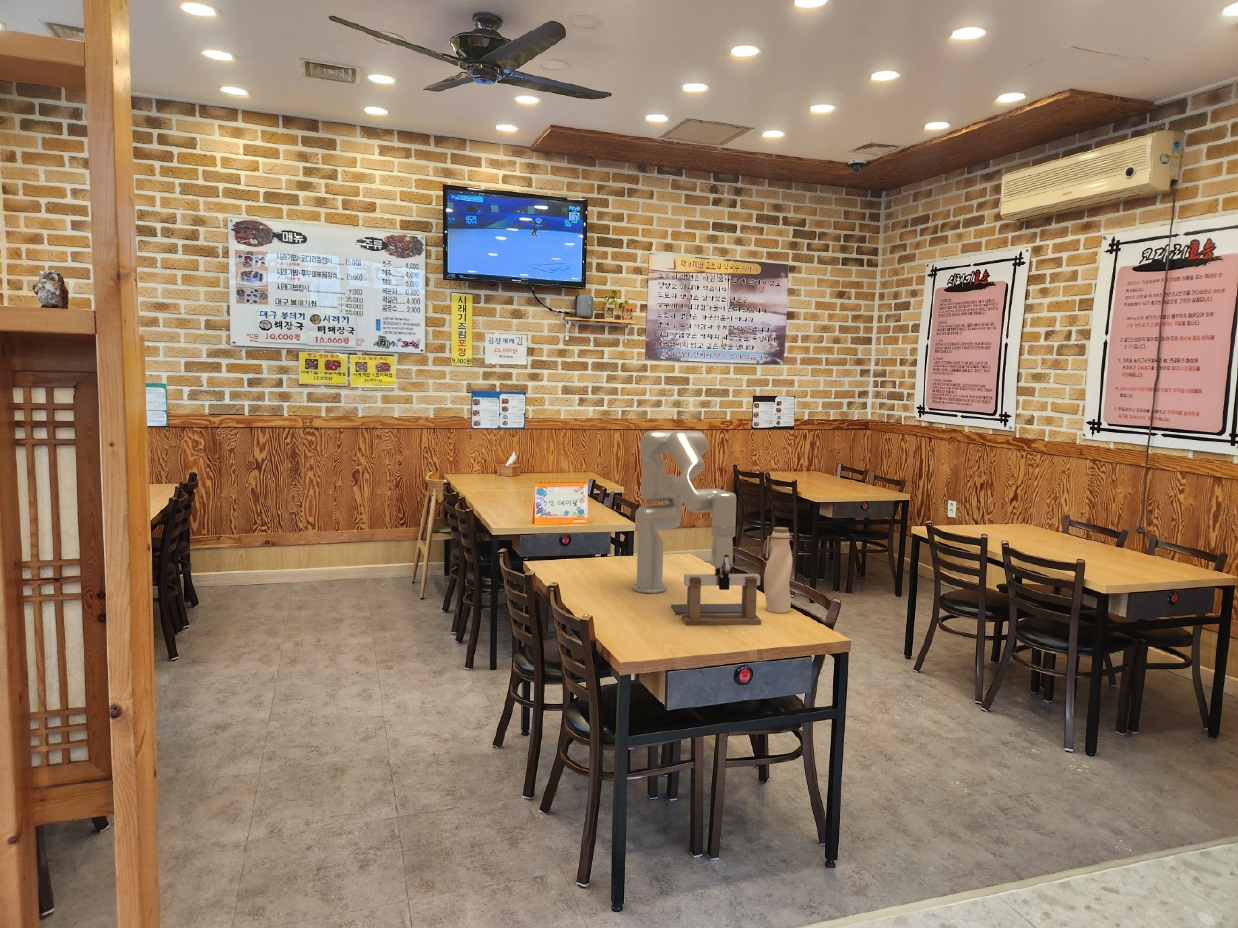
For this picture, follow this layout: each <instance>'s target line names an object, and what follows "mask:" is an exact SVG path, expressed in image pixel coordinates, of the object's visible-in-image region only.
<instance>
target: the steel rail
mask: <svg viewBox="0 0 1238 928" xmlns="http://www.w3.org/2000/svg"><path fill="white" fill-rule="evenodd" d="M719 577H720V574H715V573H703V574H701V573H699V574H698V573H693V574H692V573H691V574H686V573H685V574H684V575H683V584H684V586H685V587H687V586H691V579H693V578H700V579H701V587H703V586H705V587H707V586H709V587H711V586H713V587H716V586H718V587H719ZM747 578H757V586H760V585H761V575H760V574H758V573H730V582H729V587H730V586H742V585H747Z"/></svg>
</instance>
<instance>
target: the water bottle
mask: <svg viewBox="0 0 1238 928" xmlns="http://www.w3.org/2000/svg"><path fill="white" fill-rule="evenodd" d="M792 538H793V536H792V535H791V534H790V532H789V527H783V526H775V527H773V531H772V534H770V536H769V535H767V539H766V540H765V541H764V543H763V547H762V550H763V551H762V553H763V555H765V558H766V559H767V563H766V565H765V566H766V567H765V569H764V575H763V591H764V596H765V597H764V598H765V603H766V611H768V612H769V613H770V612H771V613H774V614H776V613H777V614H786V613H789V612H791V604H792V603H791V601H792V600H791V599H792V597H791V592H790V591H791V590H790V581H791V575H792V570H793V554H792V549H791V545H790V539H792Z"/></svg>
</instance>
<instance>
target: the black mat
mask: <svg viewBox="0 0 1238 928" xmlns="http://www.w3.org/2000/svg"><path fill="white" fill-rule="evenodd" d="M670 605H671V606H670V607H671V609H672V610H673V612H674V614H675V615H676V616H680V615H681V616H682V614H687V603H686V604H685V603H682V604H681V603H678V604H676V603H675V604H674V603H673V604H670ZM741 611H742V603H700V613H741Z"/></svg>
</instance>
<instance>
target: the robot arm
mask: <svg viewBox="0 0 1238 928" xmlns="http://www.w3.org/2000/svg"><path fill="white" fill-rule="evenodd" d="M708 449H709V440H708V438H707V436H706V435H705V434H704V432H702V431H700V430H682V429H681V430H680V429H679V430H678V429H676V430H673V429H672V430H670V429H669V430H667V429H658V430H657V429H656V430H650V431H646V432H645V433H644V434H642V436H641V438H640V442H639V452H640V457H641V458H640V459H641V475H640V477H641V478H640V480H641V481H640V495H641V498H642V499H643V500H645V501H647V502H661V501H662V502H664V501H665V503H654V504H653V503H652V504H651V503H649V504H644V505H641V506H639V507H638V508H637V509H636V511H635V514H634V515H635V517H634V518H635V519H634V520H635V527H636V532H637V533H636V536H637V540H636V541H637V546H636V547H637V548H636V549H637V550H636V551H637V554H636V555H637V556H636V557H637V558H636V583H634V584H633V585H632V590H633V591H635V592H638V593H643V594H658V593H664V592H666V591H667V585H665V584H663V577H664V570H663V567H664V540H663V538H662V537H661V535H660V533H659V532H658V531H663V530H674V529H677V528H678V527H679V526H680V525H681V522H682V516H683V504H684V506H685V508H686V509H687V510H688V511H689V512H691V513H695V514H698V513H699V514H700V513H711V532H710V533H711V534H710V535H711V536H712V544H711V554H710V555H711V556H710V562H711V564H712V565H714V574H720V577H719V586H718V589H719V590H720V591H728V590H730V586H729V582H730V574H731V573H730V571H731V568H732V567H733V562H734V561H733V558H734V555H733V554H734V550H733V549H734V547H733V545H734V544H733V538H735V537H736V525H737V523H736V522H737V521H736V520H737V518H736V517H737V495H736V493H734V492H730V491H725V490H723V489H721V488H700V489H698V488H697V489H696V488H695V487H694V485H693V484H692V482H691V480H692V479H694V478H696V477H697V476H698V475H700V474H701V473H702V472H703V471H704V468H705V465H706V464H705V461H704V459H703V457H702V455H704V454H705V453H707V451H708ZM664 454H665V455H671V456H672V458H673V460H674V462H675V465H676V466H677V468H678V469H679V471H680V474H679V476H677V475H675V474H666V462H665V460H664V458H663V456H662V455H664Z"/></svg>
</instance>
